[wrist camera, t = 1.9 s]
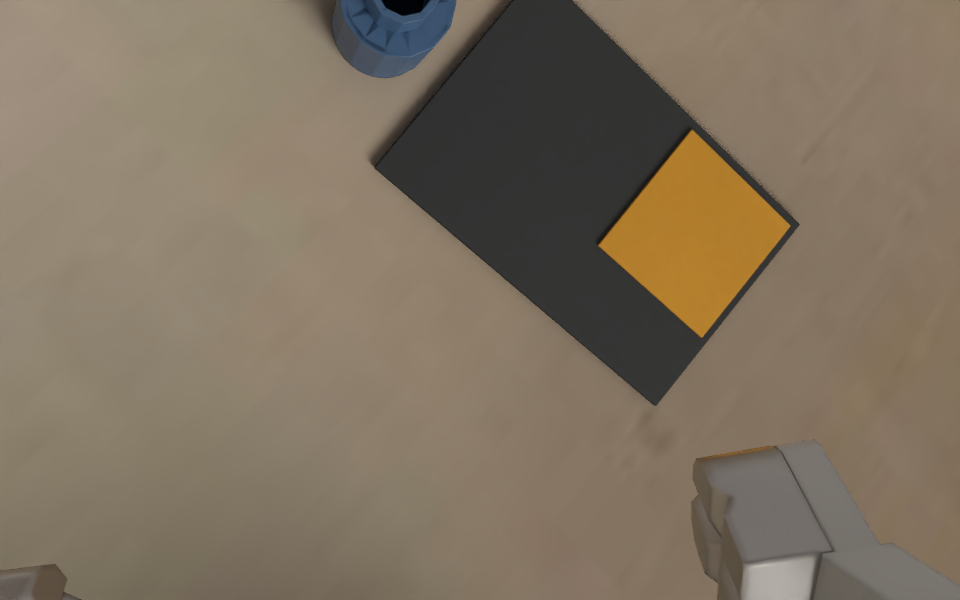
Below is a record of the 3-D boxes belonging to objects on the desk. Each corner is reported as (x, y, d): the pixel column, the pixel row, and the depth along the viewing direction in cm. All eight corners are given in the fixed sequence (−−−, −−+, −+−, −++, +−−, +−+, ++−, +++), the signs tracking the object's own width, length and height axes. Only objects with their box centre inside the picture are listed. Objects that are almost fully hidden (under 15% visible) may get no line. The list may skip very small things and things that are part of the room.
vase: (310, 31, 41) (316, -11, 32) (375, -46, 41) (397, -107, 33) (387, 99, 42) (411, 74, 34) (450, 24, 42) (489, -19, 34)
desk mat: (374, 167, 42) (375, 167, 41) (537, -30, 43) (540, -33, 42) (653, 404, 47) (657, 407, 46) (796, 224, 47) (802, 224, 47)
